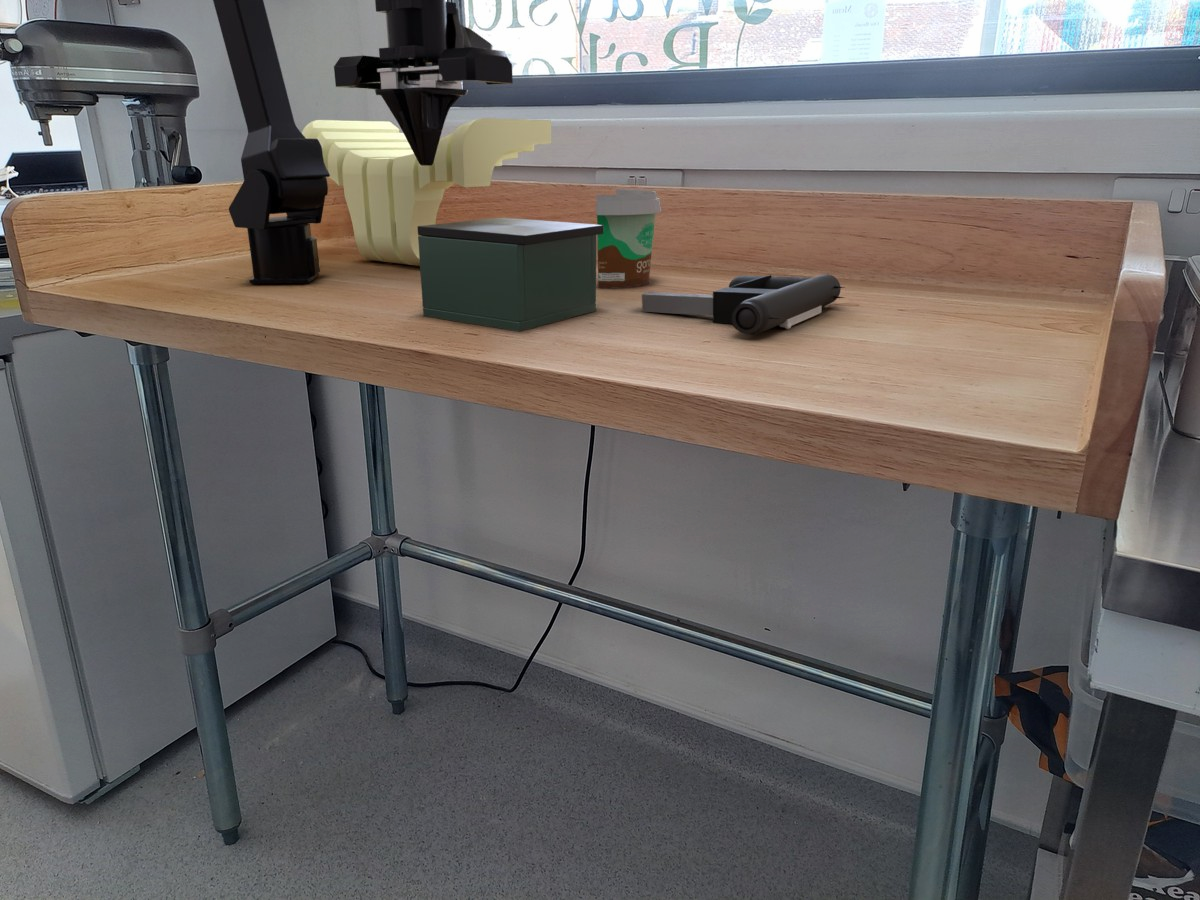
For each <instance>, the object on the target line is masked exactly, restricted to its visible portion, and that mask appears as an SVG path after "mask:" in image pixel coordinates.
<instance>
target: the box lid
mask: <svg viewBox="0 0 1200 900" xmlns="http://www.w3.org/2000/svg"><path fill="white" fill-rule="evenodd" d="M603 229H604V226H603V225H597V224H593V223H583V222H580V223H579V222H569V221H568V222H567V221H555V220H554V221H552V220H539V219H527V218H513V217H494V218H483V219H473V220H464V221H457V222H456V221H454V222H446V223H445V222H444V223H436V224H434V225H424V226H418V235H422V236H432V237H443V238H453V239H464V240H474V241H485V242H495V243H506V244H516V245H530V244H537V243H544V242H551V241H558V240H564V239H571V238H578V237H585V236H592V235H596V236H597V235H599V234H603Z"/></svg>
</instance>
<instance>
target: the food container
mask: <svg viewBox="0 0 1200 900" xmlns="http://www.w3.org/2000/svg"><path fill="white" fill-rule="evenodd" d="M661 212H662V208H661V202H660V198H659V197H658V193H657V191H654V190H653V191H652V190H646V189H645V190H644V189H624V188H623V189H619V188H617V189H615V194H596V203H595V216H596V223H597V224H596V225H603V226H604V229H603V234H599V235H596V241H597V288H598V289H600V288H601V289H620V288H621V289H622V288H623V289H624V288H635V287H641V286H645V285H648V284H649V283H650V274H651V263H652V253H653V245H654V244H653V242H654V232H655V223H656V222H655V221H656V220H655V219H656V214H659V213H661Z"/></svg>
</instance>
